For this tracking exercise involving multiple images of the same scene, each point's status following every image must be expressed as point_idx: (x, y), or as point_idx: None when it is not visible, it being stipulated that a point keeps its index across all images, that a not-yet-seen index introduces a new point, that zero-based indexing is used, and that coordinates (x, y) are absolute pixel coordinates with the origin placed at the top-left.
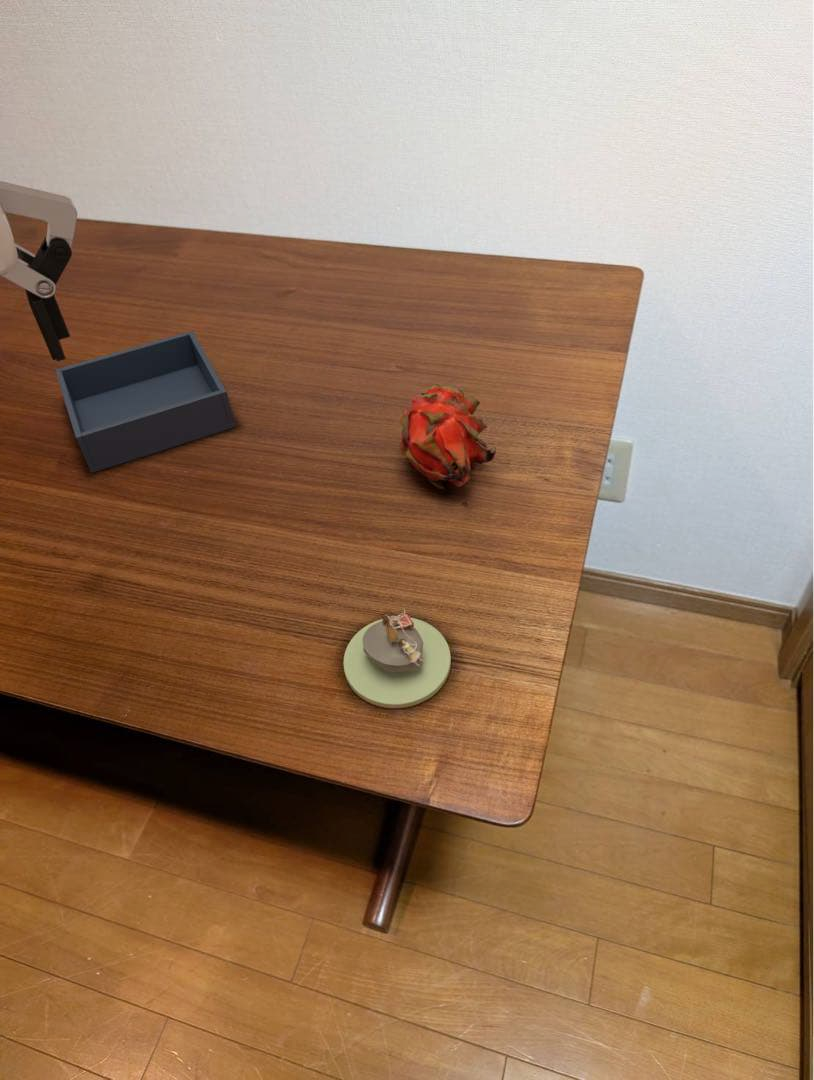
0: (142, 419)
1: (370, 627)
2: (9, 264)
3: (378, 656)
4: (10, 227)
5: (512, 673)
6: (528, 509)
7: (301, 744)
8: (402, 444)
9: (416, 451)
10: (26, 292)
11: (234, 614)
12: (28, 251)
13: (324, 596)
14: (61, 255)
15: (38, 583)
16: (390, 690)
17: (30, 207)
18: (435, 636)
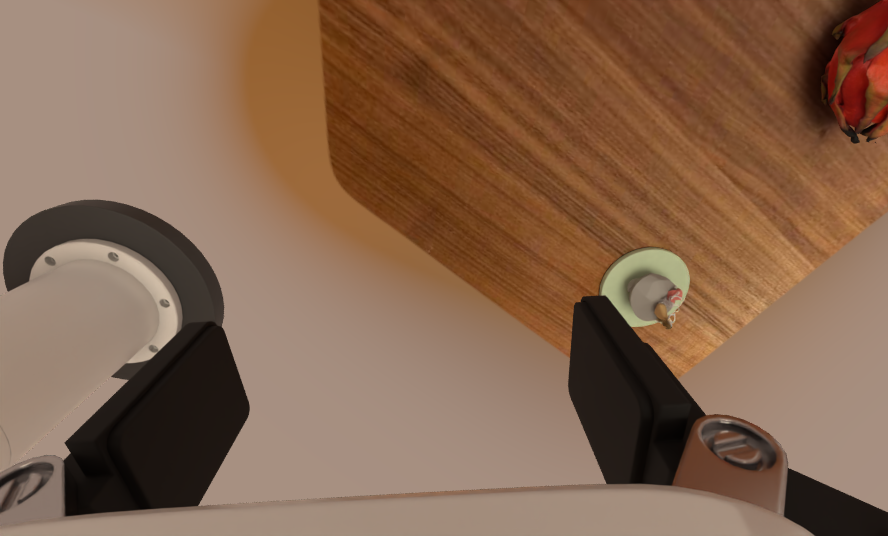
0: None
1: (646, 278)
2: None
3: (636, 310)
4: None
5: (709, 325)
6: (866, 170)
7: (545, 322)
8: (853, 58)
9: (856, 81)
10: (636, 462)
11: (542, 183)
12: (782, 514)
13: (626, 196)
14: None
15: (355, 43)
16: (624, 313)
17: None
18: (684, 282)
